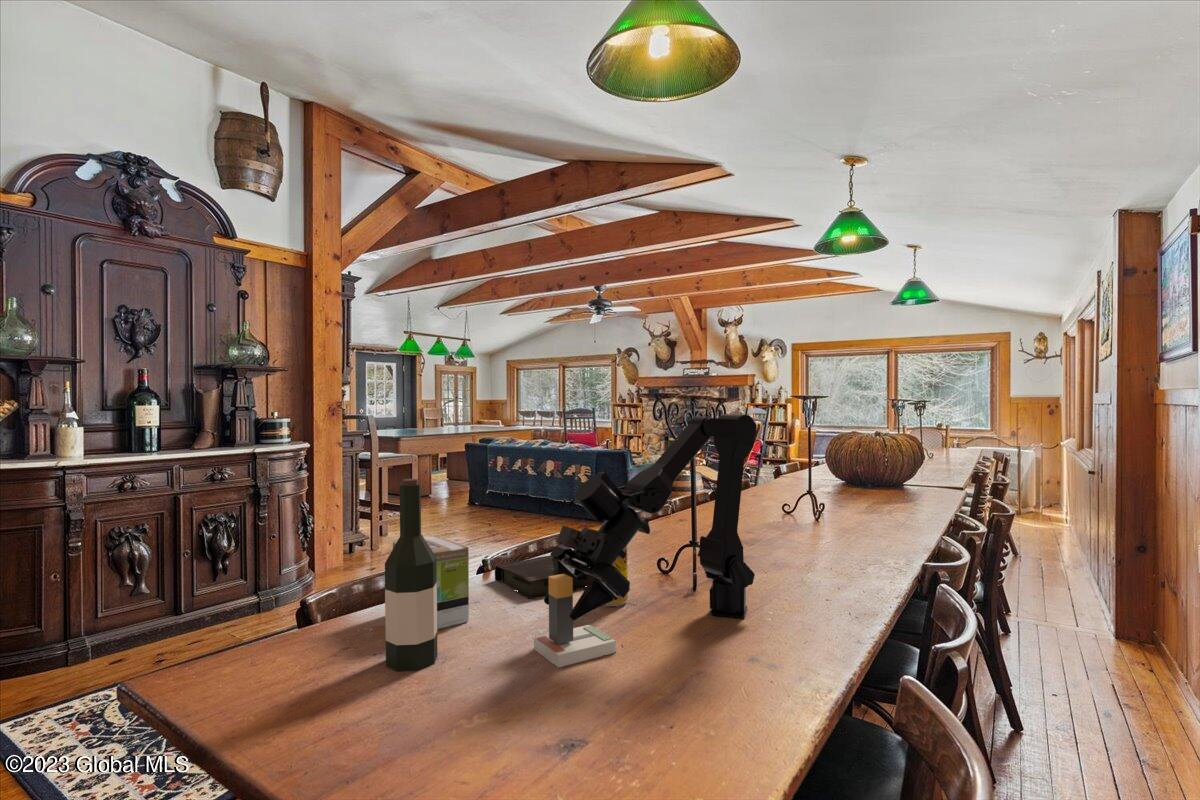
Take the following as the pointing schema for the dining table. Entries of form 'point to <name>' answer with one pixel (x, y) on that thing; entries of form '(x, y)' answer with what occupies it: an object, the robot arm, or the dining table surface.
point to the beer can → (622, 568)
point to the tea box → (450, 581)
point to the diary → (531, 576)
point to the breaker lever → (560, 608)
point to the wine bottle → (410, 590)
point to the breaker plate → (576, 646)
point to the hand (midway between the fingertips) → (558, 610)
